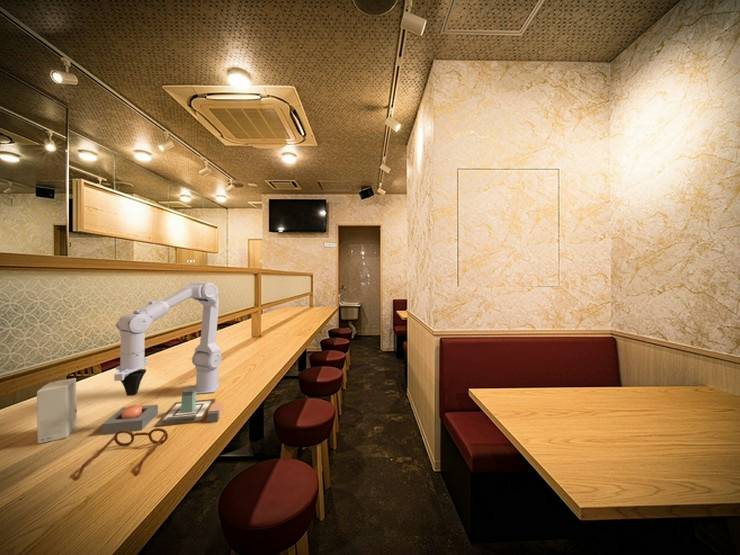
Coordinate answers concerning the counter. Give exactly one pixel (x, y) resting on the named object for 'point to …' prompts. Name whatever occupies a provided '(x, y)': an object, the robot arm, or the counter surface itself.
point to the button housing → (129, 420)
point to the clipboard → (186, 414)
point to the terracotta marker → (215, 412)
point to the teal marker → (188, 400)
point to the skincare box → (56, 410)
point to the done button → (132, 412)
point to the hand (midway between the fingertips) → (132, 394)
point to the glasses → (129, 444)
